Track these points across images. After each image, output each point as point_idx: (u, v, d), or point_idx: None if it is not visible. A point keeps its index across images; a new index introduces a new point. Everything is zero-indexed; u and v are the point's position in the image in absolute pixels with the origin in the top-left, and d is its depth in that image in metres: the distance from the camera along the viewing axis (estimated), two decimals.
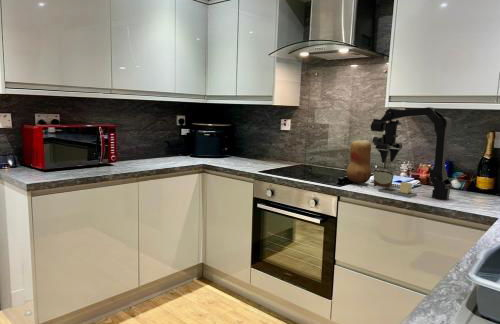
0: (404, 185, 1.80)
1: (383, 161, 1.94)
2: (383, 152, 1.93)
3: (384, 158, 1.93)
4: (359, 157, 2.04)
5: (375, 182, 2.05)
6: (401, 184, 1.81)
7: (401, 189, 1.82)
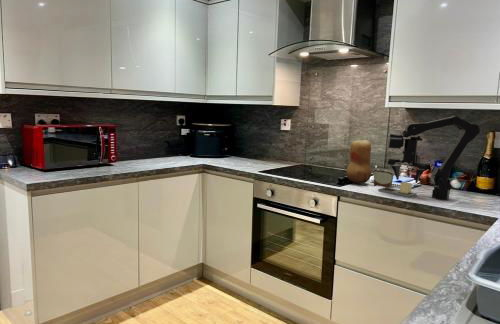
0: (404, 185, 1.80)
1: None
2: None
3: None
4: (359, 157, 2.04)
5: (375, 182, 2.05)
6: (401, 184, 1.81)
7: (401, 189, 1.82)
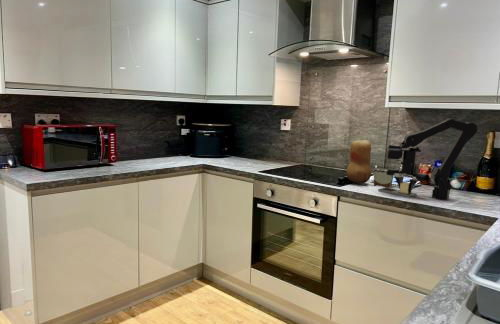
0: (404, 185, 1.80)
1: None
2: None
3: None
4: (359, 157, 2.04)
5: (375, 182, 2.05)
6: (401, 184, 1.81)
7: (401, 189, 1.82)
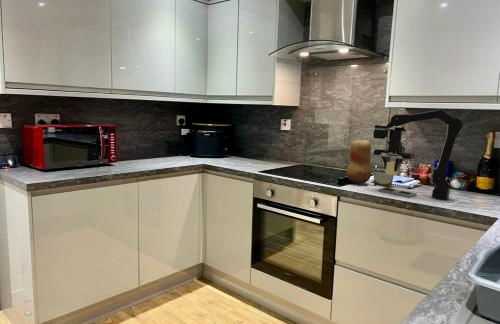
0: (390, 164, 1.85)
1: None
2: None
3: None
4: (359, 157, 2.04)
5: (375, 182, 2.05)
6: (387, 163, 1.86)
7: (387, 168, 1.86)
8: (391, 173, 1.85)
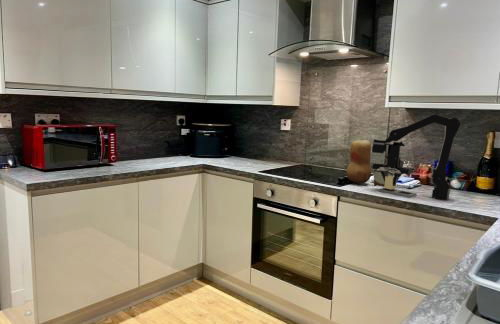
0: (389, 178, 1.86)
1: None
2: None
3: None
4: (359, 157, 2.04)
5: (375, 182, 2.05)
6: (386, 177, 1.87)
7: (386, 182, 1.87)
8: (389, 187, 1.86)
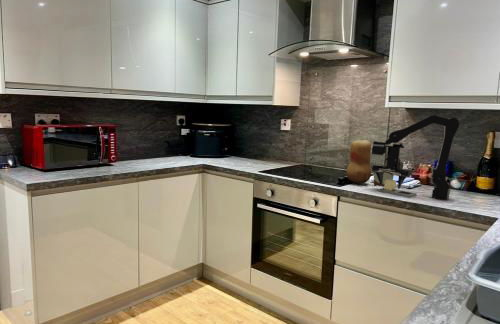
0: (388, 182, 1.86)
1: None
2: None
3: None
4: (359, 157, 2.04)
5: (375, 182, 2.05)
6: (385, 181, 1.87)
7: (385, 186, 1.87)
8: None
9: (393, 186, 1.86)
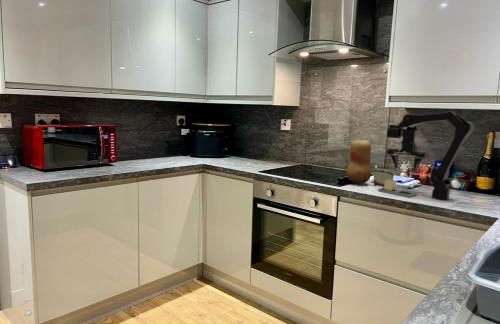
0: (388, 182, 1.86)
1: None
2: None
3: None
4: (359, 157, 2.04)
5: (375, 182, 2.05)
6: (385, 181, 1.87)
7: (385, 186, 1.87)
8: None
9: (393, 186, 1.86)
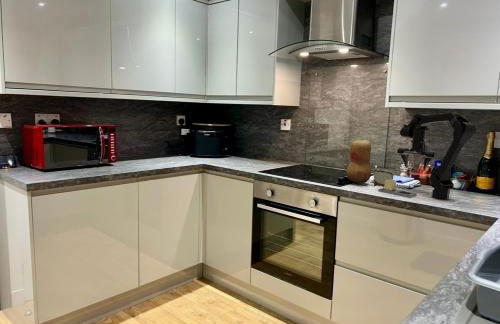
0: (388, 182, 1.86)
1: None
2: None
3: None
4: (359, 157, 2.04)
5: (375, 182, 2.05)
6: (385, 181, 1.87)
7: (385, 186, 1.87)
8: None
9: (393, 186, 1.86)
